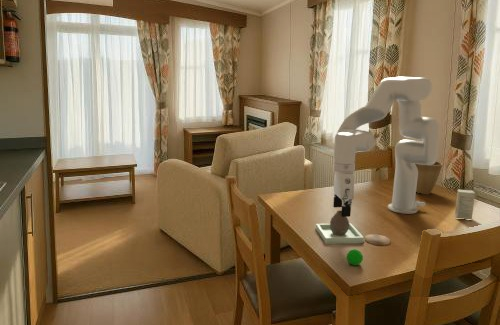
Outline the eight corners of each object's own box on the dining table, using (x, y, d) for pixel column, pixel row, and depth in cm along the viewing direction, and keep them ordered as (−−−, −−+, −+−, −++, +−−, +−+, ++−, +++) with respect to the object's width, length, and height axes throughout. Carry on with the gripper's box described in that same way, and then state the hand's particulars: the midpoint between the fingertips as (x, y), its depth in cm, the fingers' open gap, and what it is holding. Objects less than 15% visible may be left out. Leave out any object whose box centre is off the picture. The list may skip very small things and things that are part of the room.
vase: (348, 238, 151) (350, 215, 149) (329, 236, 152) (331, 213, 150) (347, 231, 157) (349, 209, 155) (329, 229, 159) (330, 207, 157)
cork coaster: (384, 235, 156) (384, 234, 156) (394, 245, 147) (394, 244, 147) (361, 235, 155) (361, 234, 155) (370, 245, 146) (370, 244, 146)
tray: (350, 228, 162) (351, 223, 161) (363, 242, 148) (363, 237, 148) (315, 228, 161) (316, 223, 160) (325, 243, 147) (325, 238, 147)
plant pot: (443, 197, 205) (447, 165, 202) (413, 196, 205) (417, 165, 202) (431, 188, 220) (434, 159, 216) (403, 187, 220) (406, 158, 216)
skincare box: (470, 217, 177) (474, 190, 174) (471, 221, 173) (476, 193, 170) (453, 215, 179) (457, 188, 176) (454, 219, 175) (458, 191, 172)
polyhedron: (364, 267, 130) (365, 253, 129) (349, 268, 129) (350, 254, 128) (358, 260, 135) (359, 246, 134) (344, 260, 134) (345, 247, 133)
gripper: (362, 173, 141) (359, 220, 145) (346, 160, 157) (344, 203, 162) (341, 173, 140) (338, 220, 144) (327, 161, 157) (325, 204, 161)
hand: (341, 211), depth 153 cm, fingers open, 9 cm apart
